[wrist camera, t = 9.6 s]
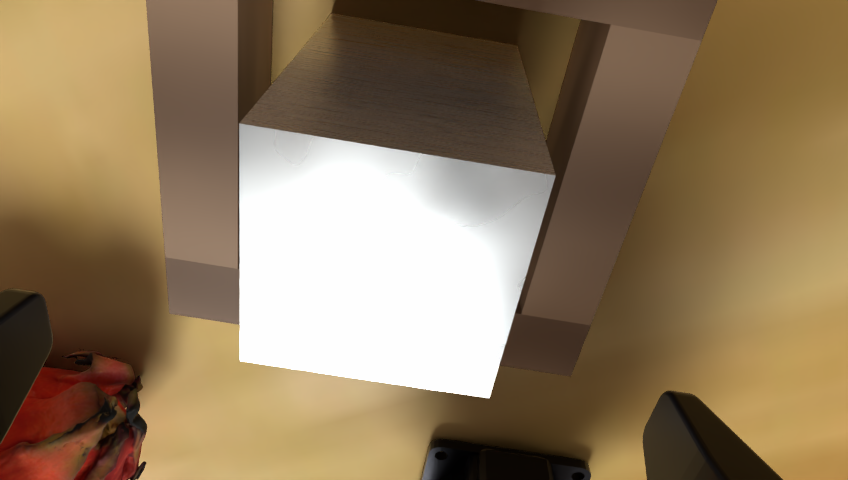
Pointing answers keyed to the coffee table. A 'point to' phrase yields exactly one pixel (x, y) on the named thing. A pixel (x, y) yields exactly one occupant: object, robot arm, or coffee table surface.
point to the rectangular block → (390, 206)
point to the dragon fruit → (77, 425)
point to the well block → (567, 143)
